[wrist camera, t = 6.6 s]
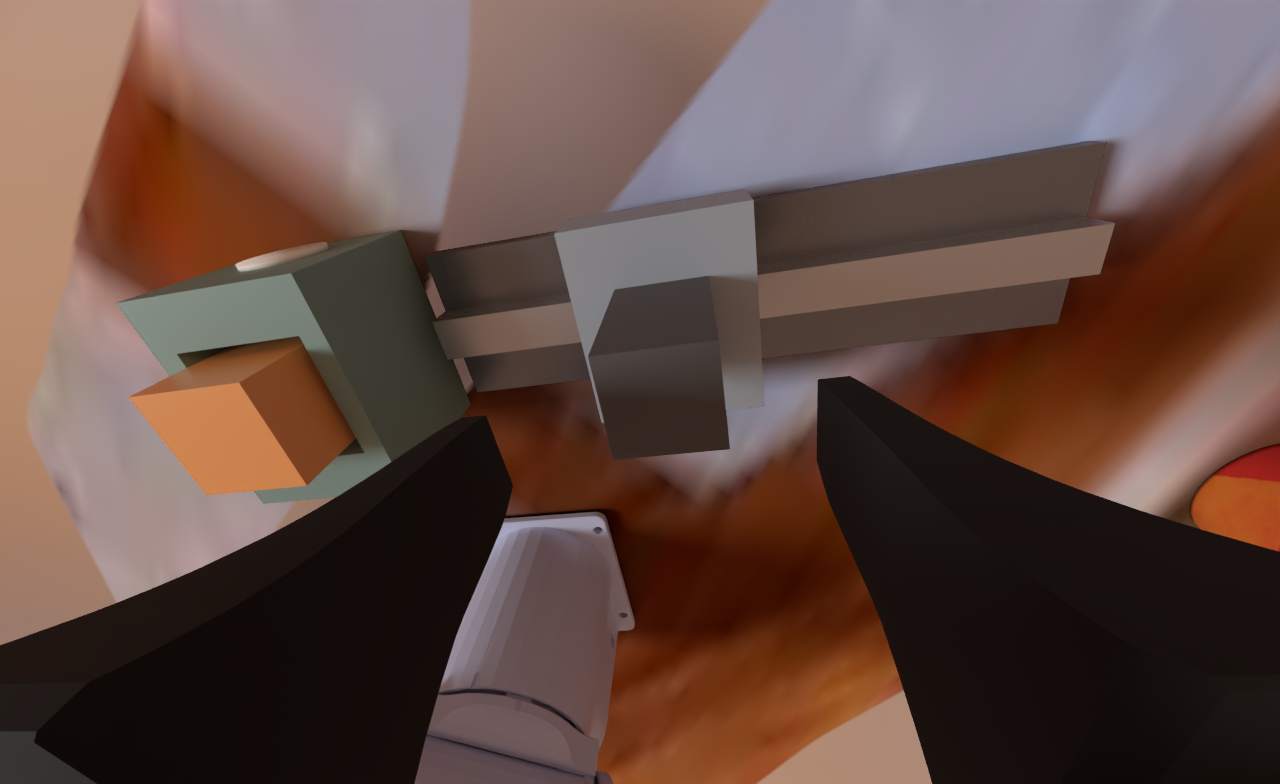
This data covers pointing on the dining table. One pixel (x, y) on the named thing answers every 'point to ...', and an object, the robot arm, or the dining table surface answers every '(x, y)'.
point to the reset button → (249, 418)
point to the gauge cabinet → (323, 341)
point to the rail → (823, 266)
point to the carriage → (668, 319)
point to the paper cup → (1243, 499)
